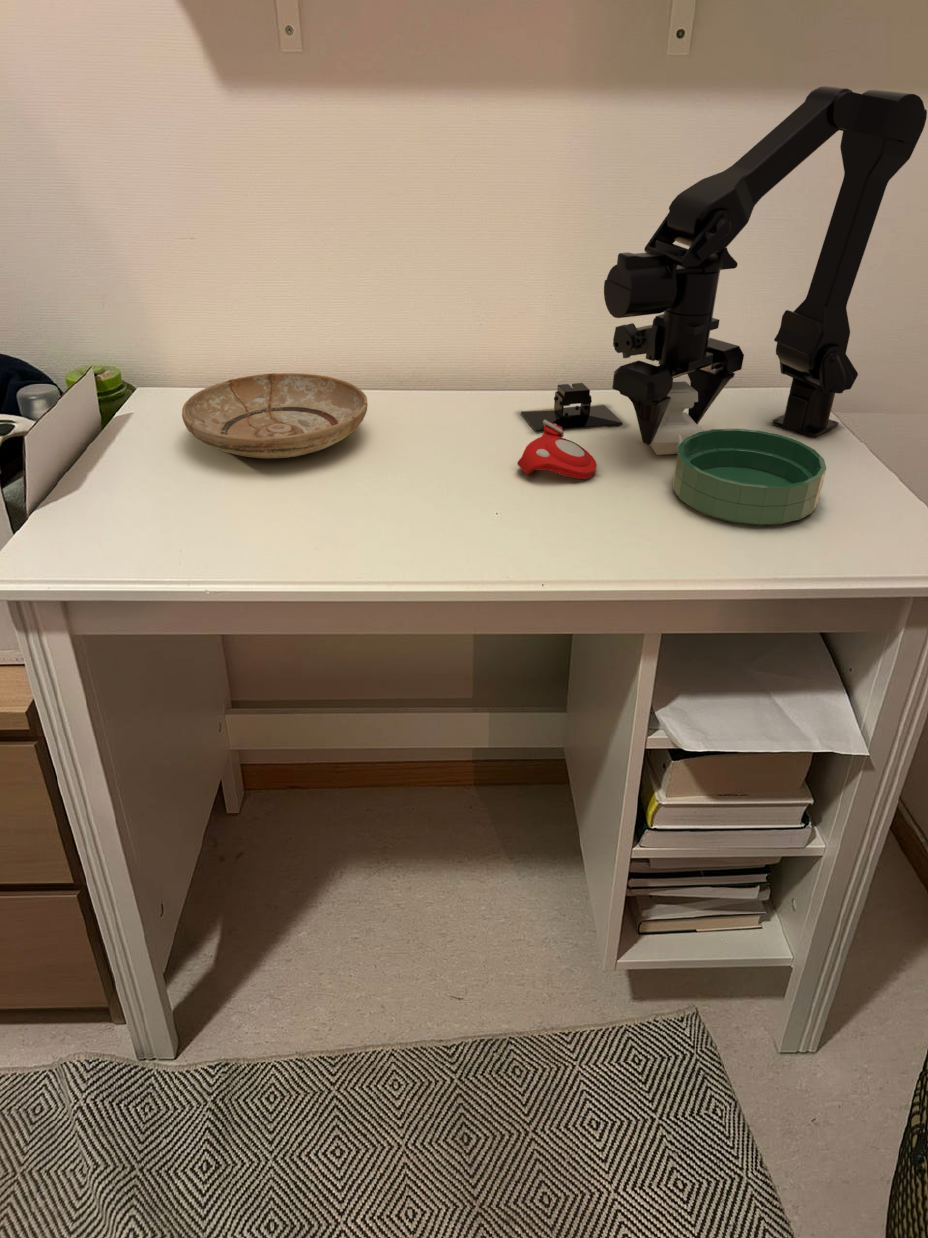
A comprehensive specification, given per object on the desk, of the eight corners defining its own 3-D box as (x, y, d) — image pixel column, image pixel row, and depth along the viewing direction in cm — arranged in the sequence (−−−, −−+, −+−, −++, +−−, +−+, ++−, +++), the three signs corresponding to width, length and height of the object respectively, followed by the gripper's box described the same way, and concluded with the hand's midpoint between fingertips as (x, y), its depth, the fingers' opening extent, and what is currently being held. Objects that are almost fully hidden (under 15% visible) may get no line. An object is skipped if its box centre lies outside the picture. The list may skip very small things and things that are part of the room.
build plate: (603, 407, 130) (607, 375, 127) (623, 426, 124) (628, 393, 121) (520, 413, 127) (522, 380, 125) (536, 433, 121) (539, 399, 119)
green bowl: (725, 455, 116) (732, 418, 113) (842, 499, 106) (853, 459, 103) (644, 492, 107) (649, 452, 104) (764, 544, 97) (773, 501, 94)
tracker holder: (616, 465, 110) (554, 465, 105) (600, 495, 113) (539, 496, 107) (560, 411, 117) (499, 408, 111) (547, 441, 120) (487, 439, 114)
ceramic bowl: (347, 397, 131) (345, 363, 128) (388, 463, 113) (387, 425, 110) (180, 414, 125) (174, 379, 122) (195, 487, 107) (188, 447, 104)
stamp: (704, 463, 114) (716, 398, 110) (653, 465, 114) (662, 399, 109) (681, 435, 122) (691, 372, 117) (633, 436, 121) (640, 374, 116)
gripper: (682, 282, 118) (665, 399, 127) (584, 307, 107) (573, 433, 116) (756, 301, 111) (733, 423, 120) (659, 329, 101) (642, 461, 109)
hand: (670, 434), depth 116 cm, fingers closed on stamp, 9 cm apart
